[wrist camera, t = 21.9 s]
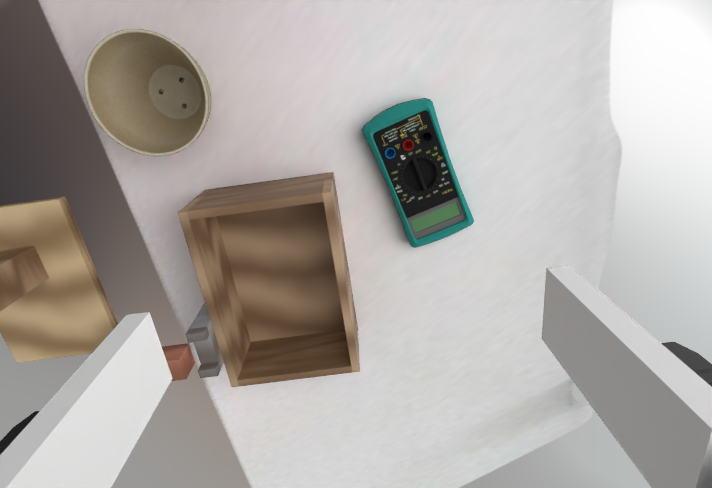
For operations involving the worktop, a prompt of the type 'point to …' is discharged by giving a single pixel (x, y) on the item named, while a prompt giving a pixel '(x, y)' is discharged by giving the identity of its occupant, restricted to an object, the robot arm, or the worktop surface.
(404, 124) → the digital multimeter
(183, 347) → the reddish brown rectangular block
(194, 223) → the brown wooden box
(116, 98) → the flower pot
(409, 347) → the worktop surface
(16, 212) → the wooden block with peg
